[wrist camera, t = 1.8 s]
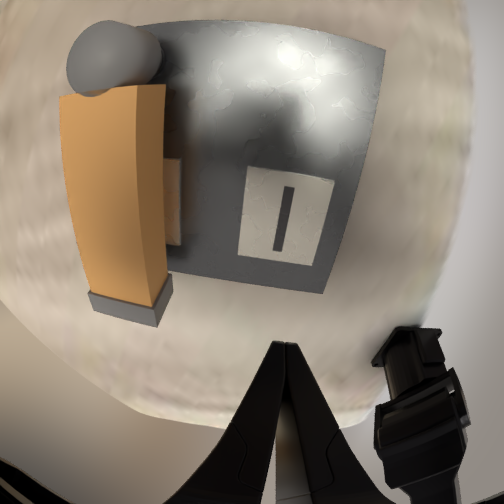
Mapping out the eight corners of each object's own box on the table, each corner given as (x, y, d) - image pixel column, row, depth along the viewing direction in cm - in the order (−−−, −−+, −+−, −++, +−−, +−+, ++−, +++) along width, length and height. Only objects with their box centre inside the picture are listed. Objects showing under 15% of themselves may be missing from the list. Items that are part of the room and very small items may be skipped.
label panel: (320, 280, 21) (324, 310, 18) (116, 248, 21) (97, 271, 18) (376, 52, 11) (397, 46, 9) (108, 37, 12) (80, 33, 9)
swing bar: (98, 37, 9) (58, 34, 6) (178, 24, 9) (148, 9, 6) (114, 279, 18) (93, 310, 16) (173, 291, 18) (157, 327, 16)
